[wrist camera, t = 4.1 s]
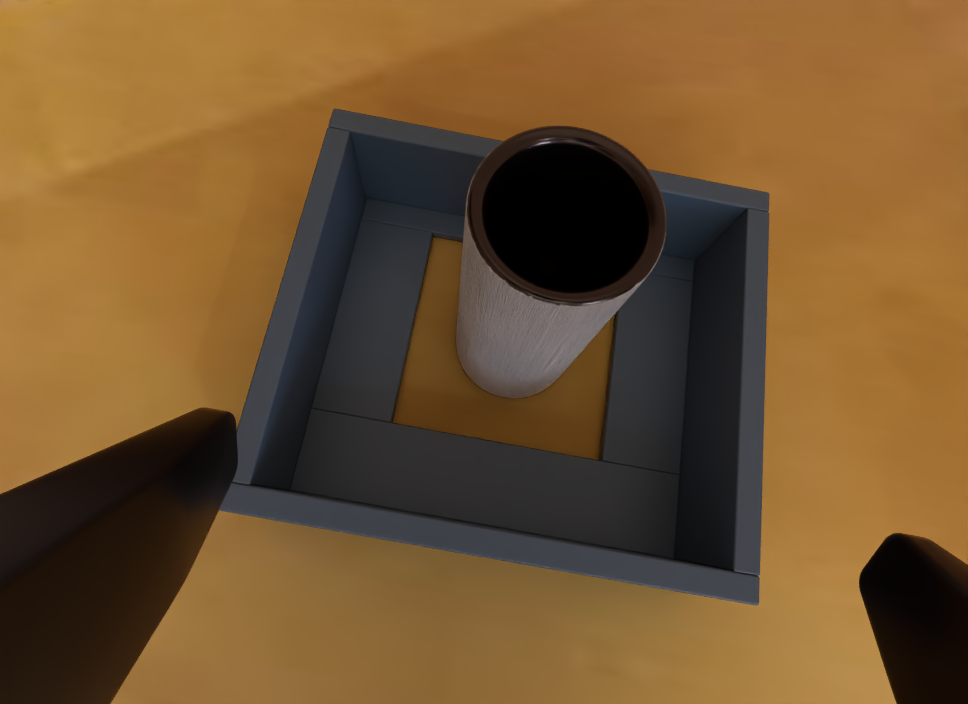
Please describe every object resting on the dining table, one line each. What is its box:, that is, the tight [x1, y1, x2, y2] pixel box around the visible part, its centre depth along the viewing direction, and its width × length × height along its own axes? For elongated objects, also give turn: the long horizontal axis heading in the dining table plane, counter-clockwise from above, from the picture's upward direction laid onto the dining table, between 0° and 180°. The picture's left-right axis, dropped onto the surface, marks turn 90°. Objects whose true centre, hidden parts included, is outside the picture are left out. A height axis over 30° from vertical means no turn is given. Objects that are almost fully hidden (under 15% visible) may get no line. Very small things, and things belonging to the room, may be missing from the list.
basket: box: [219, 109, 769, 605], centre depth 20 cm, size 14×16×5 cm
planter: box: [456, 126, 666, 398], centre depth 17 cm, size 4×4×10 cm
